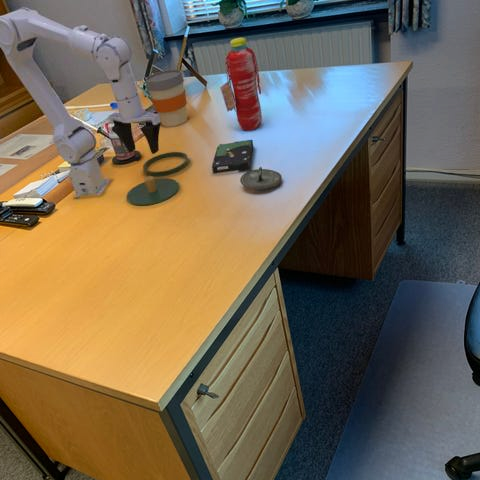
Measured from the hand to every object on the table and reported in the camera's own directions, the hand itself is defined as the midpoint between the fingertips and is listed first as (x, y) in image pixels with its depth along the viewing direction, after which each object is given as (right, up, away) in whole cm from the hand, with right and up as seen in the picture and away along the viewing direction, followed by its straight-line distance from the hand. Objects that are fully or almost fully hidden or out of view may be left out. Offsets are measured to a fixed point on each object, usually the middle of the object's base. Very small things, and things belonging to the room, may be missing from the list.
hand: (143, 151), depth 124 cm
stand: (-10, +6, +25) cm, 28 cm away
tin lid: (+2, -10, +4) cm, 10 cm away
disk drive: (+23, +1, +11) cm, 26 cm away
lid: (+30, -9, -2) cm, 32 cm away
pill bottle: (-10, +7, +25) cm, 28 cm away
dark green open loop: (+4, +1, +16) cm, 16 cm away
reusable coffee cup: (+2, +26, +45) cm, 52 cm away
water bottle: (+27, +17, +29) cm, 43 cm away
